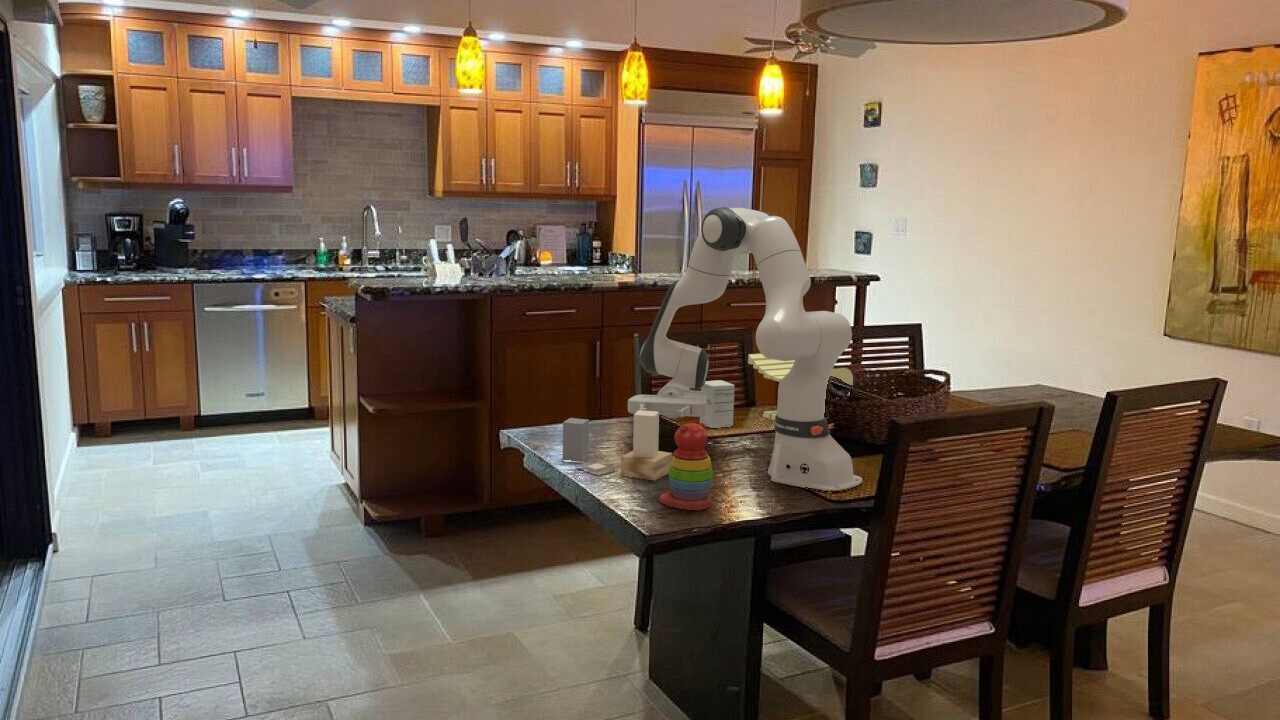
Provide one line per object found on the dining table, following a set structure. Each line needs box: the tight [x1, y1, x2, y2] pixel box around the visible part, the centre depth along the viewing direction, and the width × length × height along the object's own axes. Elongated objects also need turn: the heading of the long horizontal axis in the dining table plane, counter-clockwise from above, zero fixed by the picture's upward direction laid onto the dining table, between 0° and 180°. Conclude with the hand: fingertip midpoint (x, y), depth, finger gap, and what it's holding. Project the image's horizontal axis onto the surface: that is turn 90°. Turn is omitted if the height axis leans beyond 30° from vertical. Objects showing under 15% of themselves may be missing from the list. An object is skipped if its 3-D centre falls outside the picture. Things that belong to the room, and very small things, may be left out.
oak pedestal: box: [620, 450, 673, 480], centre depth 226 cm, size 9×9×5 cm
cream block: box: [632, 410, 660, 458], centre depth 225 cm, size 5×5×10 cm
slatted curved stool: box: [747, 353, 854, 420], centre depth 285 cm, size 30×16×18 cm, turn 28°
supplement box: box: [699, 379, 735, 429], centre depth 276 cm, size 7×7×13 cm
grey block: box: [562, 417, 590, 462], centre depth 236 cm, size 5×5×10 cm
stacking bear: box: [658, 422, 714, 511], centre depth 203 cm, size 11×10×18 cm
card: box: [586, 462, 617, 473], centre depth 229 cm, size 8×6×1 cm
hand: (661, 413), depth 236 cm, fingers open, 8 cm apart
